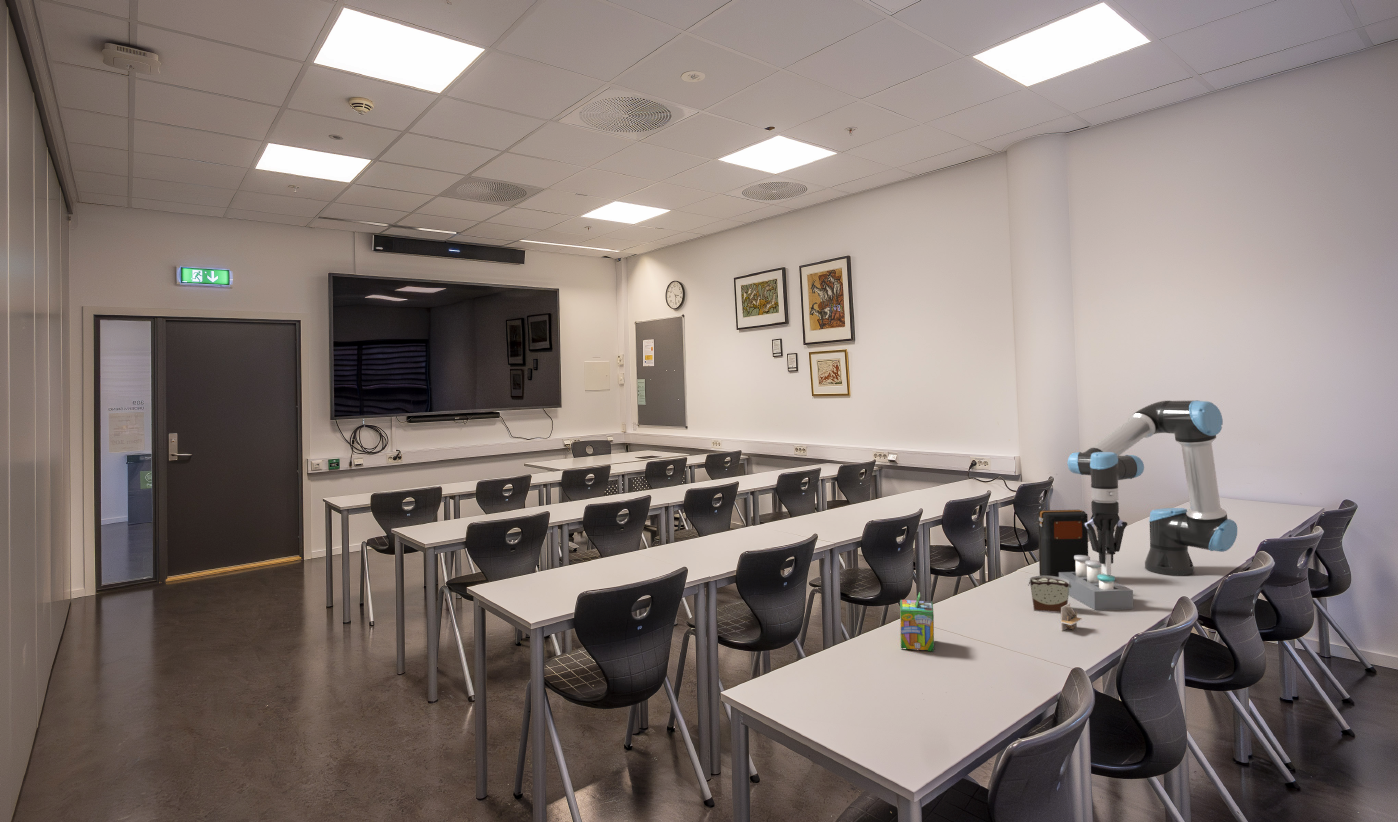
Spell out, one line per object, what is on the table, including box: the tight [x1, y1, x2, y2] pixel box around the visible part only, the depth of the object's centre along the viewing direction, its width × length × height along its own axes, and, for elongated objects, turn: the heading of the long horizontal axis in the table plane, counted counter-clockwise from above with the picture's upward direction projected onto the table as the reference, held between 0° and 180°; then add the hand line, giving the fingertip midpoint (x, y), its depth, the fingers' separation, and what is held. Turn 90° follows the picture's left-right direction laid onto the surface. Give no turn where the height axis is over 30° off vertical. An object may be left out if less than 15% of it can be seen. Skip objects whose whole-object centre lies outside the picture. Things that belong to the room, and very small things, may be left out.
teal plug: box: [1097, 573, 1116, 590], centre depth 220 cm, size 5×5×8 cm
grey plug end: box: [1074, 555, 1091, 577], centre depth 234 cm, size 5×5×8 cm
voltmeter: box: [1037, 509, 1089, 577], centre depth 250 cm, size 16×9×25 cm, turn 84°
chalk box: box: [899, 591, 935, 652], centre depth 194 cm, size 9×9×15 cm
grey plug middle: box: [1085, 559, 1102, 583], centre depth 227 cm, size 5×5×8 cm
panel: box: [1059, 572, 1134, 611], centre depth 227 cm, size 12×22×6 cm, turn 179°
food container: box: [1027, 575, 1071, 614], centre depth 219 cm, size 12×6×10 cm, turn 71°
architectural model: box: [1060, 602, 1083, 632], centre depth 200 cm, size 3×7×7 cm, turn 128°
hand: (1106, 573), depth 220 cm, fingers closed
